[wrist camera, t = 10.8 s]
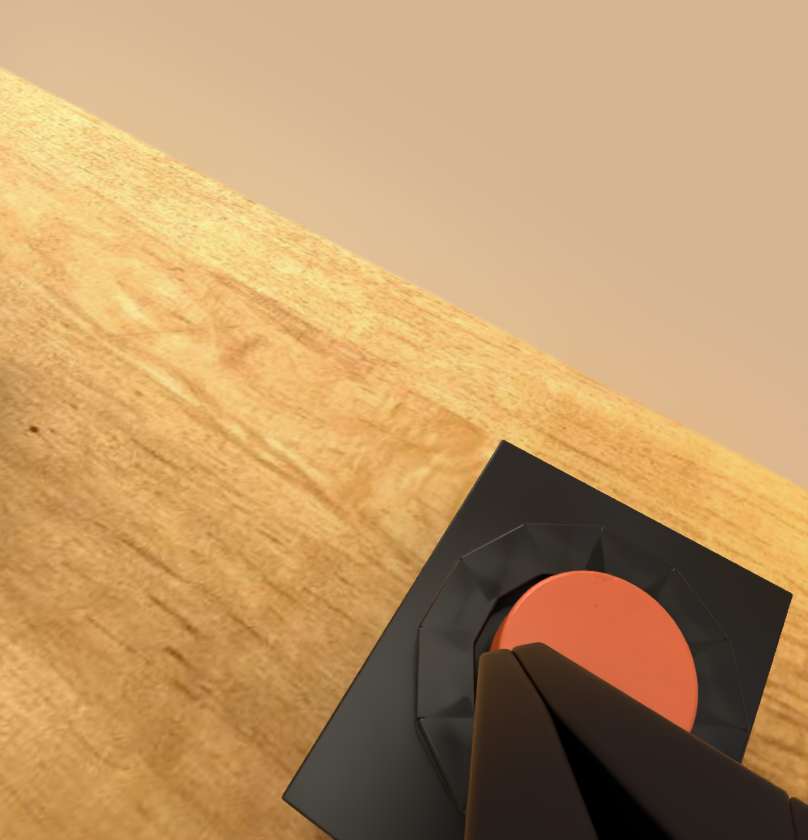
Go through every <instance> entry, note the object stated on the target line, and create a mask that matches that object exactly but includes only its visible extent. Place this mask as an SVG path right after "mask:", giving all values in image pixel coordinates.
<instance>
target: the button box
mask: <svg viewBox="0 0 808 840" xmlns="http://www.w3.org/2000/svg"><path fill="white" fill-rule="evenodd" d="M570 571H594V572H601V573H605V574H609V575H612V576H615V577H618V578H621V579H623V580H625V581H627V582H629V583H631V584H633V585H635V586H637V587H638V588H640V589H641V590H643V591H644V592H646V593H647V594H648V595H649V596H651V597H652V598H653V599H654V600H656V601H657V602H658V603H659V604H660V605H661V606H662V607H663V608H664V609H665V610H666V612H667V613H668V614H669V615H670V617H671V618H672V619H673V620H674V622H675V623H676V625H677V626H678V628H679V629H680V631H681V633H682V635H683V637H684V639H685V641H686V643H687V645H688V647H689V650H690V652H691V655H692V658H693V662H694V666H695V670H696V675H697V683H698V703H697V711H696V716H695V720H694V724H693V727H692V730H691V732H690V733H691V734H693V735H694V736H696V737H698V738H699V739H701V740H703V741H704V742H706V743H707V744H709V745H711V746H712V747H714V748H716V749H717V750H719V751H720V752H722V753H724V754H725V755H727V756H729V757H730V758H732V759H734V760H735V761H737V762H738V763H740V764H741V763H742V760H743V757H744V753H745V750H746V747H747V744H748V740H749V737H750V734H751V730H752V727H753V724H754V721H755V717H756V714H757V711H758V707H759V704H760V701H761V698H762V694H763V691H764V688H765V685H766V681H767V678H768V675H769V671H770V668H771V665H772V662H773V658H774V655H775V652H776V648H777V645H778V642H779V639H780V635H781V632H782V629H783V625H784V622H785V619H786V616H787V612H788V609H789V606H790V603H791V599H792V596H793V595H792V593H790V592H788V591H786V590H784V589H782V588H781V587H779V586H777V585H775V584H773V583H771V582H769V581H767V580H766V579H764V578H762V577H760V576H758V575H756V574H754V573H752V572H751V571H749V570H747V569H745V568H743V567H741V566H739V565H737V564H736V563H734V562H732V561H730V560H728V559H726V558H724V557H722V556H721V555H719V554H717V553H715V552H713V551H711V550H709V549H707V548H706V547H704V546H702V545H700V544H698V543H696V542H694V541H692V540H691V539H689V538H687V537H685V536H683V535H681V534H679V533H677V532H676V531H674V530H672V529H670V528H668V527H666V526H664V525H662V524H661V523H659V522H657V521H655V520H653V519H651V518H649V517H647V516H646V515H644V514H642V513H640V512H638V511H636V510H634V509H632V508H631V507H629V506H627V505H625V504H623V503H621V502H619V501H617V500H615V499H614V498H612V497H610V496H608V495H606V494H604V493H602V492H600V491H599V490H597V489H595V488H593V487H591V486H589V485H587V484H585V483H584V482H582V481H580V480H578V479H576V478H574V477H572V476H570V475H569V474H567V473H565V472H563V471H561V470H559V469H557V468H555V467H554V466H552V465H550V464H548V463H546V462H544V461H542V460H540V459H539V458H537V457H535V456H533V455H531V454H529V453H527V452H525V451H524V450H522V449H520V448H518V447H516V446H514V445H512V444H510V443H509V442H507V441H505V440H502V441H501V442H500V444H499V446H498V447H497V449H496V450H495V452H494V454H493V455H492V457H491V458H490V460H489V462H488V463H487V465H486V467H485V468H484V470H483V471H482V473H481V475H480V476H479V478H478V480H477V481H476V483H475V484H474V486H473V488H472V489H471V491H470V492H469V494H468V496H467V497H466V499H465V501H464V502H463V504H462V505H461V507H460V509H459V510H458V512H457V514H456V515H455V517H454V518H453V520H452V522H451V523H450V525H449V526H448V528H447V530H446V531H445V533H444V535H443V536H442V538H441V539H440V541H439V543H438V544H437V546H436V548H435V549H434V551H433V552H432V554H431V556H430V557H429V559H428V560H427V562H426V564H425V565H424V567H423V569H422V570H421V572H420V573H419V575H418V577H417V578H416V580H415V582H414V583H413V585H412V586H411V588H410V590H409V591H408V593H407V594H406V596H405V598H404V599H403V601H402V603H401V604H400V606H399V607H398V609H397V611H396V612H395V614H394V616H393V617H392V619H391V620H390V622H389V624H388V625H387V627H386V628H385V630H384V632H383V633H382V635H381V637H380V638H379V640H378V641H377V643H376V645H375V646H374V648H373V649H372V651H371V653H370V654H369V656H368V658H367V659H366V661H365V662H364V664H363V666H362V667H361V669H360V671H359V672H358V674H357V675H356V677H355V679H354V680H353V682H352V683H351V685H350V687H349V688H348V690H347V692H346V693H345V695H344V696H343V698H342V700H341V701H340V703H339V705H338V706H337V708H336V709H335V711H334V713H333V714H332V716H331V717H330V719H329V721H328V722H327V724H326V726H325V727H324V729H323V730H322V732H321V734H320V735H319V737H318V739H317V740H316V742H315V743H314V745H313V747H312V748H311V750H310V751H309V753H308V755H307V756H306V758H305V760H304V761H303V763H302V764H301V766H300V768H299V769H298V771H297V773H296V774H295V776H294V777H293V779H292V781H291V782H290V784H289V785H288V787H287V789H286V790H285V792H284V794H283V795H282V799H283V800H284V801H285V802H286V803H287V804H289V805H290V806H291V807H293V808H294V809H295V810H296V811H298V812H299V813H300V814H301V815H303V816H304V817H305V818H307V819H308V820H309V821H310V822H312V823H313V824H314V825H316V826H317V827H318V828H319V829H321V830H322V831H323V832H325V833H326V834H327V835H328V836H330V837H331V838H332V839H334V840H464V837H465V825H466V813H467V801H468V789H469V777H470V765H471V753H472V741H473V729H474V717H475V705H476V693H477V681H478V669H479V658H480V656H481V654H483V653H486V652H489V650H490V647H491V643H492V640H493V638H494V636H495V634H496V631H497V630H498V628H499V626H500V625H501V623H502V621H503V620H504V619H505V617H506V616H507V615H508V613H509V612H510V610H511V609H512V608H513V606H514V605H515V604H516V602H517V601H518V600H519V599H520V598H521V597H522V595H523V594H525V593H526V592H527V591H528V590H529V589H530V588H531V587H533V586H534V585H536V584H537V583H539V582H540V581H542V580H544V579H546V578H549V577H551V576H554V575H557V574H560V573H564V572H570Z"/></svg>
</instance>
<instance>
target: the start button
mask: <svg viewBox="0 0 808 840" xmlns="http://www.w3.org/2000/svg"><path fill="white" fill-rule="evenodd" d="M535 642H542V643H544V644H546V645H548V646H549V647H551V648H553V649H554V650H556V651H557V652H559V653H561V654H562V655H564V656H566V657H567V658H569V659H570V660H572V661H574V662H575V663H577V664H579V665H580V666H582V667H584V668H585V669H587V670H588V671H590V672H592V673H593V674H595V675H597V676H598V677H600V678H601V679H603V680H605V681H606V682H608V683H610V684H611V685H613V686H615V687H616V688H618V689H619V690H621V691H623V692H624V693H626V694H628V695H629V696H631V697H632V698H634V699H636V700H637V701H639V702H641V703H642V704H644V705H645V706H647V707H649V708H650V709H652V710H654V711H655V712H657V713H659V714H660V715H662V716H663V717H665V718H667V719H668V720H670V721H672V722H673V723H675V724H676V725H678V726H680V727H681V728H683V729H685V730H686V731H688V732H689V733H690V732H691V730H692V727H693V724H694V720H695V716H696V711H697V703H698V683H697V675H696V670H695V666H694V662H693V658H692V655H691V652H690V650H689V647H688V645H687V643H686V641H685V639H684V637H683V635H682V633H681V631H680V629H679V628H678V626H677V625H676V623H675V622H674V620H673V619H672V618H671V617H670V615H669V614H668V613H667V612H666V610H665V609H664V608H663V607H662V606H661V605H660V604H659V603H658V602H657V601H656V600H654V599H653V598H652V597H651V596H649V595H648V594H647V593H646V592H644V591H643V590H641V589H640V588H638V587H637V586H635V585H633V584H631V583H629V582H627V581H625V580H623V579H621V578H618V577H615V576H612V575H609V574H605V573H601V572H594V571H570V572H564V573H560V574H557V575H554V576H551V577H549V578H546V579H544V580H542V581H540V582H539V583H537V584H536V585H534V586H533V587H531V588H530V589H529V590H528V591H527V592H526V593H525V594H523V595H522V597H521V598H520V599H519V600H518V601H517V602H516V604H515V605H514V606H513V608H512V609H511V610H510V612H509V613H508V615H507V616H506V617H505V619H504V620H503V621H502V623H501V625H500V626H499V628H498V630H497V631H496V634H495V636H494V638H493V640H492V643H491V647H490V650H489V652H491V651H495V650H500V649H509V650H511V651H512V649H513V648H514V647H516V646H520V645H525V644H530V643H535Z"/></svg>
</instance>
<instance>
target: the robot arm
mask: <svg viewBox="0 0 808 840" xmlns="http://www.w3.org/2000/svg"><path fill="white" fill-rule="evenodd" d="M464 840H808V805H807V804H806V803H804V802H802V801H801V800H799V799H798V798H796V797H791V798H790V799H789V797H788V794H787V793H786V792H785V791H784V790H782V789H781V788H779V787H778V786H776V785H774V784H773V783H771V782H769V781H768V780H766V779H764V778H763V777H761V776H760V775H758V774H756V773H755V772H753V771H751V770H750V769H748V768H747V767H745V766H743V765H742V764H740V763H738V762H737V761H735V760H734V759H732V758H730V757H729V756H727V755H725V754H724V753H722V752H720V751H719V750H717V749H716V748H714V747H712V746H711V745H709V744H707V743H706V742H704V741H703V740H701V739H699V738H698V737H696V736H694V735H693V734H691V733H689V732H688V731H686V730H685V729H683V728H681V727H680V726H678V725H676V724H675V723H673V722H672V721H670V720H668V719H667V718H665V717H663V716H662V715H660V714H659V713H657V712H655V711H654V710H652V709H650V708H649V707H647V706H645V705H644V704H642V703H641V702H639V701H637V700H636V699H634V698H632V697H631V696H629V695H628V694H626V693H624V692H623V691H621V690H619V689H618V688H616V687H615V686H613V685H611V684H610V683H608V682H606V681H605V680H603V679H601V678H600V677H598V676H597V675H595V674H593V673H592V672H590V671H588V670H587V669H585V668H584V667H582V666H580V665H579V664H577V663H575V662H574V661H572V660H570V659H569V658H567V657H566V656H564V655H562V654H561V653H559V652H557V651H556V650H554V649H553V648H551V647H549V646H548V645H546V644H544V643H542V642H535V643H530V644H525V645H520V646H516V647H514V648H513V649H512V651H511V650H509V649H500V650H495V651H491V652H486V653H483V654H481V656H480V658H479V669H478V681H477V693H476V705H475V717H474V729H473V741H472V753H471V765H470V777H469V789H468V801H467V813H466V825H465V837H464Z"/></svg>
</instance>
